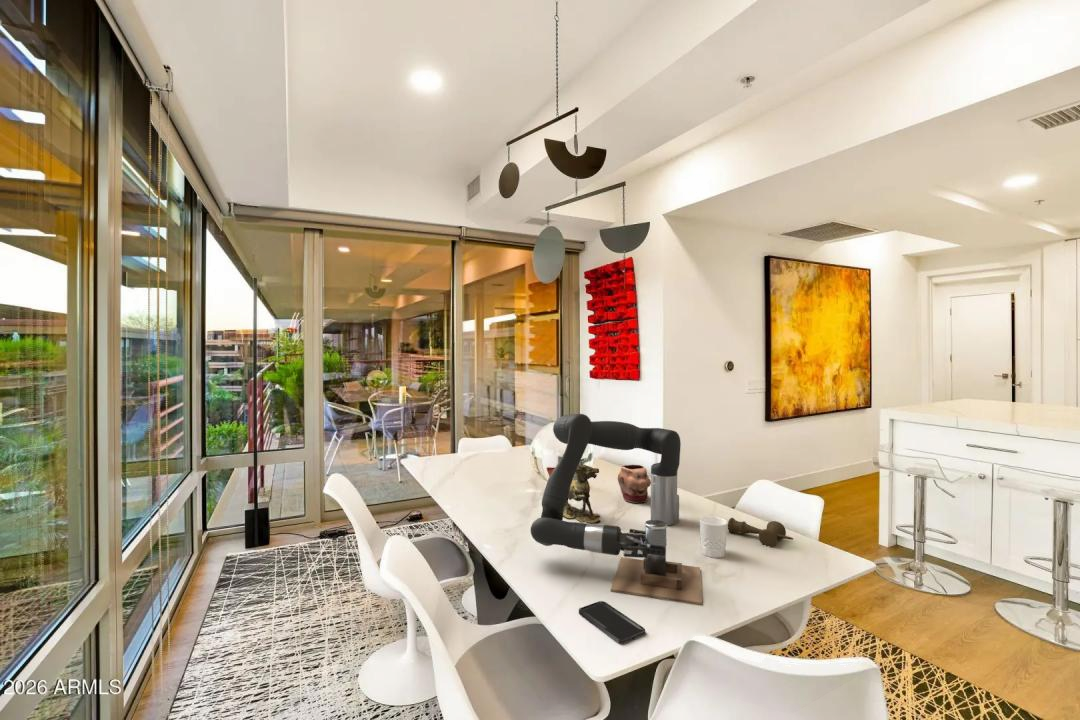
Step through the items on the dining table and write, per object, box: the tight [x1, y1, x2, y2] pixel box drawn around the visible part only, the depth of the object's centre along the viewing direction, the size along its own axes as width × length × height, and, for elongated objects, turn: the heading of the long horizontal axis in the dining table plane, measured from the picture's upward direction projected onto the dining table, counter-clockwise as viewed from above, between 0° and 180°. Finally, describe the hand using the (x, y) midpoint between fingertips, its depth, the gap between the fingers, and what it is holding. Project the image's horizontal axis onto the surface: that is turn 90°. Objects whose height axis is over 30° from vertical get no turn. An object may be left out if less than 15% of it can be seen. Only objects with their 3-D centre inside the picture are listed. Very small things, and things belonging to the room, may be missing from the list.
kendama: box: [727, 517, 794, 548], centre depth 156 cm, size 6×10×20 cm
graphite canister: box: [644, 519, 668, 576], centre depth 128 cm, size 6×6×14 cm
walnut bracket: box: [610, 556, 703, 606], centre depth 127 cm, size 22×20×3 cm
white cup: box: [699, 515, 728, 559], centre depth 145 cm, size 8×8×10 cm
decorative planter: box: [617, 464, 651, 504], centre depth 198 cm, size 20×12×14 cm, turn 22°
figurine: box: [563, 463, 601, 524], centre depth 180 cm, size 13×25×20 cm, turn 32°
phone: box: [578, 600, 646, 645], centre depth 107 cm, size 8×1×15 cm
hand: (665, 546), depth 127 cm, fingers closed on graphite canister, 5 cm apart
